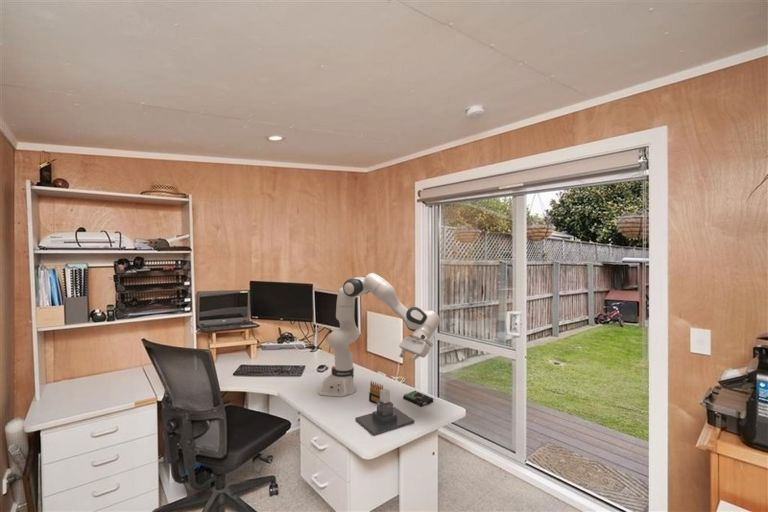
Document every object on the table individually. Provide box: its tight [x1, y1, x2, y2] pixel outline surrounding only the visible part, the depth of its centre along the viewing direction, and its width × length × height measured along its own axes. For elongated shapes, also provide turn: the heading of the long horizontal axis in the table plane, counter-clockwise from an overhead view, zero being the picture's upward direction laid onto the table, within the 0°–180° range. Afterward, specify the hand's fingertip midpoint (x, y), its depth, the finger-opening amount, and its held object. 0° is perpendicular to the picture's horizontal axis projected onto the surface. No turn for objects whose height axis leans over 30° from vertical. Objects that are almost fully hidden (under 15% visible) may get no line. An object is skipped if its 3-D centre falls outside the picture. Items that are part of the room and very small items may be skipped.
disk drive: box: [402, 390, 434, 408], centre depth 216 cm, size 10×3×15 cm
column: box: [380, 388, 391, 405], centre depth 189 cm, size 4×4×14 cm
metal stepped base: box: [354, 401, 415, 437], centre depth 189 cm, size 24×18×10 cm
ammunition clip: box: [368, 380, 384, 405], centre depth 211 cm, size 11×2×12 cm, turn 46°
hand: (405, 359), depth 195 cm, fingers open, 8 cm apart
